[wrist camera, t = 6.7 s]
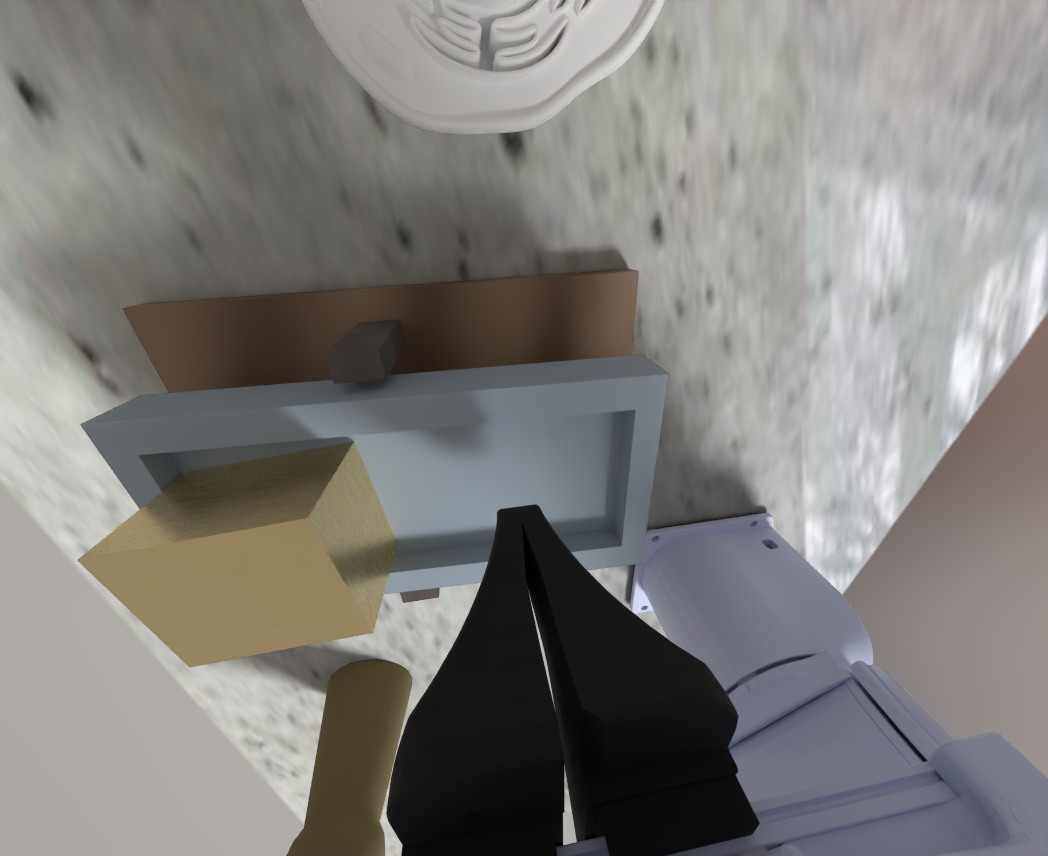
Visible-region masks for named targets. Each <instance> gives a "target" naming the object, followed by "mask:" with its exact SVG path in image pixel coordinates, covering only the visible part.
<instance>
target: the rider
mask: <svg viewBox="0 0 1048 856" xmlns="http://www.w3.org/2000/svg"><path fill="white" fill-rule="evenodd" d="M397 543H398V541H397V539H396V537H395V534H394V532H393V530H392V528H391V525H390V523H389V521H388V518H387V516H386V514H385V511H384V509H383V507H382V505H381V502H380V500H379V498H378V495H377V493H376V491H375V488H374V486H373V484H372V482H371V479H370V477H369V475H368V472H367V470H366V468H365V466H364V463H363V461H362V459H361V456H360V454H359V452H358V449H357V447H356V445H355V443H354V442H350V443H344V444H339V445H333V446H327V447H322V448H316V449H311V450H305V451H300V452H294V453H289V454H283V455H278V456H272V457H266V458H261V459H255V460H250V461H244V462H239V463H233V464H228V465H222V466H216V467H211V468H205V469H200V470H194V471H189V472H186V473H184V474H183V475H182V476H181V477H179V478H178V479H177V480H176V481H175V482H173V483H172V484H171V485H170V486H168V487H167V488H166V489H165V490H163V491H162V492H161V493H160V494H158V495H157V496H156V497H155V498H154V499H152V500H151V501H150V502H149V503H147V504H146V505H145V506H144V507H142V508H141V509H140V510H139V511H137V512H136V513H135V514H134V515H133V516H131V517H130V518H129V519H128V520H126V521H125V522H124V523H123V524H121V525H120V526H119V527H118V528H116V529H115V530H114V531H113V532H112V533H110V534H109V535H108V536H107V537H105V538H104V539H103V540H102V541H100V542H99V543H98V544H97V545H95V546H94V547H93V548H92V549H91V550H89V551H88V552H87V553H86V554H84V555H83V556H82V557H81V558H79V559H78V560H77V561H78V562H80V563H81V564H82V565H83V566H84V567H85V568H86V569H87V570H88V571H89V572H90V573H91V574H92V575H93V576H94V577H95V578H96V579H97V580H98V581H99V582H101V583H102V584H103V585H104V586H105V587H106V588H107V589H108V590H109V591H110V592H111V593H112V594H113V595H114V596H115V597H116V598H117V599H118V600H119V601H121V602H122V603H123V604H124V605H125V606H126V607H127V608H128V609H129V610H130V611H131V612H132V613H133V614H134V615H135V616H136V617H137V618H138V619H139V620H140V621H142V622H143V623H144V624H145V625H146V626H147V627H148V628H149V629H150V630H151V631H152V632H153V633H154V634H155V635H156V636H157V637H158V638H159V639H160V640H161V641H163V642H164V643H165V644H166V645H167V646H168V647H169V648H170V649H171V650H172V651H173V652H174V653H175V654H176V655H177V656H178V657H179V658H180V659H181V660H182V661H184V662H185V663H186V664H187V665H188V666H189V667H194V666H199V665H205V664H210V663H215V662H221V661H226V660H231V659H236V658H242V657H247V656H252V655H258V654H263V653H268V652H273V651H279V650H284V649H289V648H295V647H300V646H305V645H310V644H316V643H321V642H326V641H332V640H337V639H342V638H347V637H353V636H358V635H363V634H369V633H373V631H374V628H375V624H376V620H377V617H378V613H379V609H380V606H381V602H382V598H383V595H384V591H385V587H386V584H387V580H388V576H389V573H390V569H391V565H392V562H393V558H394V554H395V551H396V547H397Z"/></svg>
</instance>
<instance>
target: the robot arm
mask: <svg viewBox="0 0 1048 856" xmlns="http://www.w3.org/2000/svg"><path fill="white" fill-rule="evenodd" d="M773 522H774V517H773V516H772V515H771V514H769V513H762V514H755V515H748V516H742V517H735V518H728V519H721V520H715V521H708V522H701V523H694V524H688V525H681V526H674V527H668V528H661V529H654V530H647V531H646V538H645V545H644V552H643V559H642V564H635V570H634V578H633V586H632V593H631V601H630V608H631V611H632V612H631V611H630V610H629V609H628V608H626V607H625V606H624V605H623V604H622V603H620V602H619V601H618V600H617V599H616V598H615V597H614V596H613V595H612V594H610V593H609V592H608V591H607V590H606V589H605V588H604V587H603V586H602V585H601V584H600V583H599V582H598V581H597V580H596V579H595V578H594V577H593V576H592V575H591V574H590V573H589V572H588V571H587V570H586V569H585V568H584V567H583V565H582V564H581V563H580V562H579V561H578V560H577V559H576V558H575V556H574V555H573V554H572V553H571V552H570V550H569V549H568V548H567V547H566V545H565V544H564V543H563V541H562V540H561V539H560V538H559V536H558V535H557V534H556V532H555V531H554V529H553V528H552V526H551V525H550V523H549V522H548V520H547V519H546V517H545V516H544V514H543V512H542V510H541V508H540V507H539V506H538V505H537V504H534V505H526V506H519V507H511V508H504V509H499V510H498V511H497V524H496V531H495V536H494V541H493V545H492V549H491V553H490V557H489V561H488V564H487V567H486V570H485V573H484V576H483V579H482V582H481V585H480V588H479V590H478V593H477V595H476V598H475V600H474V603H473V605H472V607H471V610H470V612H469V614H468V616H467V618H466V620H465V623H464V625H463V627H462V629H461V631H460V633H459V635H458V637H457V639H456V641H455V643H454V645H453V646H452V648H451V650H450V652H449V653H448V655H447V657H446V659H445V660H444V662H443V664H442V666H441V667H440V669H439V671H438V673H437V674H436V676H435V678H434V679H433V681H432V682H431V684H430V685H429V687H428V689H427V690H426V692H425V693H424V695H423V696H422V698H421V699H420V701H419V702H418V704H417V705H416V707H415V708H414V710H413V711H412V713H411V714H410V716H409V718H408V721H407V723H406V726H405V729H404V732H403V735H402V738H401V741H400V745H399V748H398V751H397V755H396V759H395V763H394V767H393V772H392V776H391V783H390V791H389V798H388V805H387V812H386V814H387V818H388V822H389V823H390V825H391V827H392V828H393V830H394V832H395V833H396V835H397V837H398V838H399V840H400V842H401V843H402V845H403V846H402V855H401V856H1048V778H1047V777H1046V776H1045V775H1044V774H1042V773H1041V772H1040V771H1039V770H1038V769H1037V768H1036V767H1035V766H1034V765H1033V764H1032V763H1031V762H1030V761H1029V760H1027V759H1026V758H1025V757H1024V756H1023V755H1022V754H1021V753H1020V752H1019V751H1018V750H1017V749H1016V748H1015V747H1014V746H1012V745H1011V744H1010V743H1009V742H1008V741H1007V740H1006V739H1005V738H1004V737H1003V736H1002V735H1001V734H999V733H996V732H989V733H985V734H980V735H976V736H971V737H967V738H962V739H958V740H955V739H953V737H952V736H951V735H950V734H949V733H948V732H947V731H946V730H945V729H944V728H943V727H942V726H941V725H940V724H939V723H938V722H937V721H936V720H935V719H934V718H933V717H932V716H931V715H930V714H929V713H928V712H927V711H926V710H925V709H924V708H923V707H922V706H921V705H920V704H919V703H918V702H917V701H916V700H915V699H914V698H913V697H912V696H911V695H910V694H909V693H908V692H907V691H906V690H905V689H904V688H903V687H902V686H901V685H900V684H899V683H898V682H897V681H896V680H895V679H894V678H893V677H892V676H891V675H890V674H889V673H888V672H887V671H885V670H884V669H883V668H880V667H877V666H873V665H872V664H873V650H872V644H871V641H870V638H869V635H868V633H867V631H866V629H865V627H864V625H863V623H862V621H861V619H860V617H859V616H858V614H857V613H856V611H855V610H854V609H853V607H852V606H851V605H850V604H849V602H848V601H847V600H846V599H845V597H844V596H843V595H842V594H841V593H840V592H839V591H838V590H837V589H836V588H835V587H833V586H832V585H831V584H830V583H829V582H828V581H827V580H826V579H825V578H824V577H823V576H822V575H821V574H820V573H819V572H818V571H817V570H816V569H815V568H814V567H812V566H811V565H810V564H809V563H808V562H807V561H806V560H805V559H804V558H803V557H802V556H801V555H800V554H799V553H798V552H797V551H796V550H795V549H794V548H793V547H792V546H790V545H789V544H788V543H787V542H786V541H785V540H784V539H783V538H782V537H781V536H780V535H779V534H778V533H777V532H776V531H775V530H774V529H773V528H771V527H772V524H773ZM654 536H655V537H654ZM528 590H529V591H528ZM529 594H530V596H529ZM530 598H531V601H532V605H533V609H534V613H535V616H536V620H537V624H538V628H539V632H540V635H541V639H542V643H543V647H544V651H545V656H546V660H547V665H548V671H549V677H550V682H551V688H552V694H553V700H554V704H553V700H552V696H551V691H550V687H549V683H548V679H547V674H546V670H545V666H544V661H543V657H542V652H541V648H540V643H539V639H538V634H537V630H536V625H535V620H534V615H533V611H532V606H531V601H530ZM652 610H654V612H655V614H656V616H657V618H658V620H659V622H660V624H661V626H662V628H663V630H664V632H665V634H666V636H667V638H668V639H667V638H666V637H664V636H663V635H661V634H660V633H659V632H657V631H656V630H654V629H653V628H652V627H650V626H649V625H648V624H646V623H645V622H644V621H643V620H641V619H640V618H639V617H638V616H636V615H635V614H634V613H640V612H646V611H652ZM633 612H634V613H633ZM554 706H555V708H554ZM555 711H556V712H555ZM564 765H565V771H566V777H567V783H568V789H569V795H570V802H571V808H572V814H573V820H574V827H575V833H576V839H577V842H576V843H571V844H568V845H563V812H564Z"/></svg>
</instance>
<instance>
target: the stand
mask: <svg viewBox="0 0 1048 856" xmlns="http://www.w3.org/2000/svg"><path fill="white" fill-rule="evenodd" d="M638 274H639V271H636V270H632V269H623V270H609V271H595V272H581V273H567V274H553V275H539V276H525V277H511V278H497V279H483V280H469V281H455V282H441V283H427V284H413V285H399V286H385V287H371V288H357V289H343V290H329V291H315V292H301V293H287V294H273V295H259V296H245V297H231V298H217V299H203V300H189V301H175V302H161V303H147V304H140V305H135V306H131V307H126V308H123V310H124V312H125V314H126V316H127V317H128V319H129V321H130V323H131V325H132V327H133V328H134V330H135V332H136V334H137V336H138V337H139V339H140V341H141V343H142V345H143V347H144V348H145V350H146V352H147V354H148V356H149V357H150V359H151V361H152V363H153V365H154V367H155V368H156V370H157V372H158V374H159V376H160V377H161V379H162V381H163V383H164V385H165V387H166V388H167V390H168V392H169V393H177V392H189V391H202V390H214V389H226V388H238V387H251V386H263V385H275V384H287V383H300V382H312V381H324V380H333V382H334V384H341V383H351V382H362V381H372V380H382V379H386V378H387V376H388V375H398V374H410V373H422V372H435V371H447V370H459V369H471V368H484V367H496V366H508V365H520V364H533V363H545V362H557V361H570V360H582V359H594V358H606V357H619V356H631V352H632V341H633V330H634V319H635V308H636V297H637V285H638ZM439 589H440V588H432V589H424V590H415V591H407V592H400V594H401V597H402V601H403V603H406V602H412V601H418V600H424V599H431V598H437V597H439Z"/></svg>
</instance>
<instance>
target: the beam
mask: <svg viewBox="0 0 1048 856" xmlns="http://www.w3.org/2000/svg"><path fill="white" fill-rule="evenodd" d="M668 377H669V374H668V373H667V372H666V371H664V370H663V369H662V368H660V367H659V366H658V365H656V364H655V363H654V362H652V361H651V360H650V359H648V358H647V357H646V356H644V355H631V356H619V357H606V358H594V359H582V360H570V361H557V362H545V363H533V364H520V365H508V366H496V367H484V368H471V369H459V370H447V371H435V372H422V373H410V374H398V375H388V376H387V378H386V379H382V380H372V381H362V382H351V383H341V384H334V382H333V380H324V381H312V382H300V383H287V384H275V385H263V386H251V387H238V388H226V389H214V390H202V391H189V392H177V393H165V394H153V395H141V396H139V397H136V398H134V399H132V400H130V401H128V402H126V403H124V404H122V405H120V406H118V407H115V408H113V409H111V410H109V411H107V412H105V413H103V414H101V415H99V416H97V417H95V418H92V419H90V420H88V421H86V422H84V423H82V424H80V425H81V426H82V428H83V429H84V431H85V432H86V434H87V435H88V436H89V438H90V439H91V441H92V442H93V443H94V445H95V446H96V448H97V449H98V451H99V452H100V453H101V455H102V456H103V458H104V459H105V461H106V462H107V463H108V465H109V466H110V468H111V469H112V470H113V472H114V473H115V475H116V476H117V478H118V479H119V480H120V482H121V483H122V485H123V486H124V487H125V489H126V490H127V492H128V493H129V495H130V496H131V497H132V499H133V500H134V502H135V503H136V504H137V506H138V507H139V509H141V508H142V507H144V506H145V505H146V504H147V503H149V502H150V501H151V500H152V499H154V498H155V497H156V496H157V495H158V494H160V493H161V492H162V491H163V490H165V489H166V488H167V487H168V486H170V485H171V484H172V483H173V482H175V481H176V480H177V479H178V478H179V477H181V476H182V475H183V474H184V473H186V472H189V471H194V470H200V469H205V468H211V467H216V466H222V465H228V464H233V463H239V462H244V461H250V460H255V459H261V458H266V457H272V456H278V455H283V454H289V453H294V452H300V451H305V450H311V449H316V448H322V447H327V446H333V445H339V444H344V443H350V442H354V443H355V445H356V447H357V449H358V452H359V454H360V456H361V459H362V461H363V463H364V466H365V468H366V470H367V472H368V475H369V477H370V479H371V482H372V484H373V486H374V488H375V491H376V493H377V495H378V498H379V500H380V502H381V505H382V507H383V509H384V511H385V514H386V516H387V518H388V521H389V523H390V525H391V528H392V530H393V532H394V534H395V537H396V539H397V541H398V543H397V547H396V551H395V554H394V558H393V562H392V565H391V569H390V573H389V576H388V580H387V584H386V587H385V591H384V594H390V593H398V592H407V591H415V590H424V589H432V588H440V587H449V586H457V585H466V584H474V583H481V582H482V579H483V576H484V573H485V570H486V567H487V564H488V561H489V557H490V553H491V549H492V545H493V541H494V536H495V531H496V524H497V511H498V510H499V509H504V508H511V507H519V506H526V505H534V504H537V505H538V506H539V507H540V508H541V510H542V512H543V514H544V516H545V517H546V519H547V520H548V522H549V523H550V525H551V526H552V528H553V529H554V531H555V532H556V534H557V535H558V536H559V538H560V539H561V540H562V541H563V543H564V544H565V545H566V547H567V548H568V549H569V550H570V552H571V553H572V554H573V555H574V556H575V558H576V559H577V560H578V561H579V562H580V563H581V564H582V565H583V567H584V568H585V569H586V570H592V569H600V568H609V567H617V566H626V565H634V564H642V559H643V552H644V545H645V538H646V531H647V524H648V517H649V510H650V503H651V496H652V489H653V482H654V475H655V468H656V461H657V454H658V447H659V440H660V433H661V426H662V419H663V412H664V405H665V398H666V391H667V384H668Z"/></svg>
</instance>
